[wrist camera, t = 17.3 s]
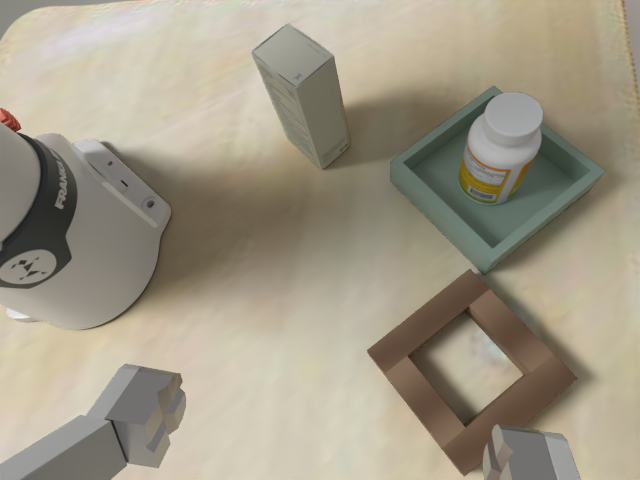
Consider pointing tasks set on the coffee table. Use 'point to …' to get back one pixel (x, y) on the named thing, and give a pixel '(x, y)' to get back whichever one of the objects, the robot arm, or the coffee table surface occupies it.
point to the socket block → (507, 333)
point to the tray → (490, 220)
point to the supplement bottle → (500, 148)
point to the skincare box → (304, 93)
